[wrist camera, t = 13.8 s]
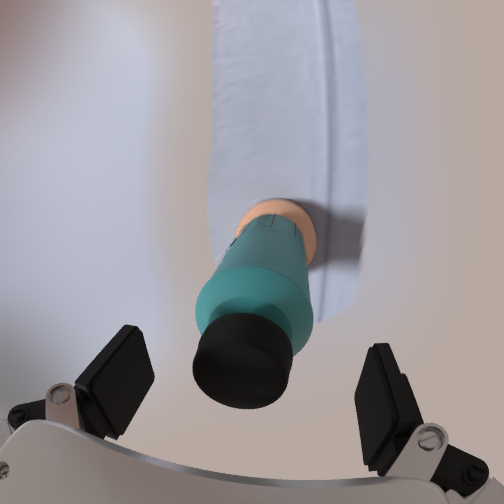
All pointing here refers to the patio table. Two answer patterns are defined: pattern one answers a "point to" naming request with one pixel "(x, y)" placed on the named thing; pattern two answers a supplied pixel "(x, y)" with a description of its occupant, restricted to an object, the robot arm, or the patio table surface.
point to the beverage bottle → (254, 315)
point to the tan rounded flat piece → (288, 211)
